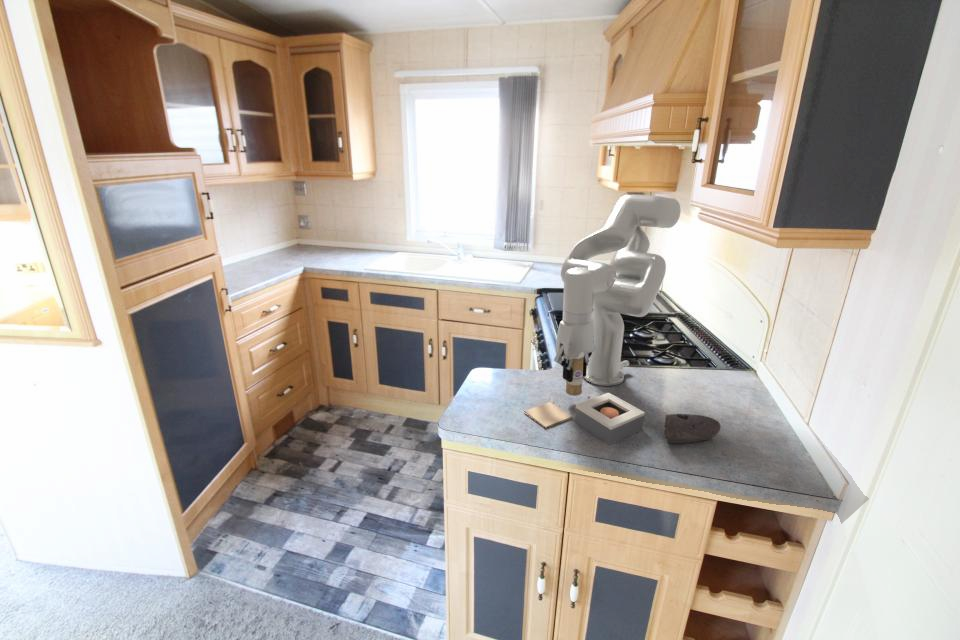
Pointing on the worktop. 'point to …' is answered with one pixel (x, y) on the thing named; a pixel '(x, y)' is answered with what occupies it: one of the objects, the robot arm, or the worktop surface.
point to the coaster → (548, 414)
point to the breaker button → (609, 412)
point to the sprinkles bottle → (576, 376)
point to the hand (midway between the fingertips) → (574, 376)
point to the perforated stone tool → (689, 428)
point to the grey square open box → (604, 426)
